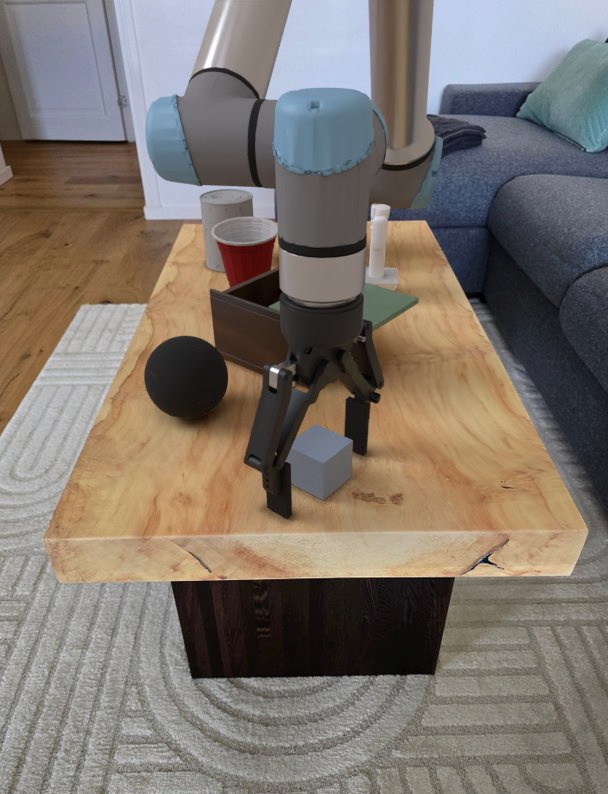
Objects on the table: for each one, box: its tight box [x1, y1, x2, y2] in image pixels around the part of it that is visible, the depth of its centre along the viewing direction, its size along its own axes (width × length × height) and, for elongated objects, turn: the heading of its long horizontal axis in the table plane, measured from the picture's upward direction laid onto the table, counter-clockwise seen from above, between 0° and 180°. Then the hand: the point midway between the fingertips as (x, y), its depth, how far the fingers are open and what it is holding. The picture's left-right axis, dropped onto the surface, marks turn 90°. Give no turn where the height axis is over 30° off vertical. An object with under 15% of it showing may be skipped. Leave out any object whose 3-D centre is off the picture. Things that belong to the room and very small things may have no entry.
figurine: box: [365, 204, 399, 291], centre depth 104 cm, size 7×9×15 cm
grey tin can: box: [199, 188, 254, 273], centre depth 117 cm, size 10×10×12 cm
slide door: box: [269, 282, 420, 333], centre depth 81 cm, size 14×14×4 cm
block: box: [286, 423, 353, 501], centre depth 67 cm, size 5×5×5 cm
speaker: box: [143, 335, 229, 420], centre depth 77 cm, size 10×10×10 cm
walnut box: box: [209, 265, 298, 383], centre depth 90 cm, size 16×14×10 cm
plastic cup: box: [212, 216, 278, 288], centre depth 104 cm, size 11×11×12 cm
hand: (319, 478), depth 69 cm, fingers open, 13 cm apart
